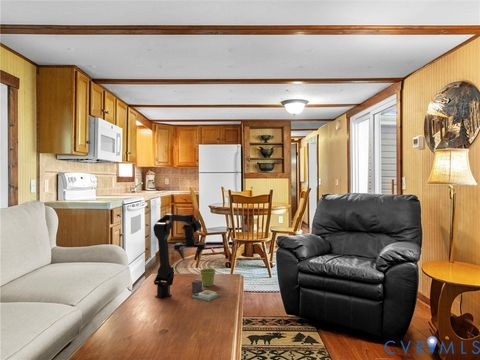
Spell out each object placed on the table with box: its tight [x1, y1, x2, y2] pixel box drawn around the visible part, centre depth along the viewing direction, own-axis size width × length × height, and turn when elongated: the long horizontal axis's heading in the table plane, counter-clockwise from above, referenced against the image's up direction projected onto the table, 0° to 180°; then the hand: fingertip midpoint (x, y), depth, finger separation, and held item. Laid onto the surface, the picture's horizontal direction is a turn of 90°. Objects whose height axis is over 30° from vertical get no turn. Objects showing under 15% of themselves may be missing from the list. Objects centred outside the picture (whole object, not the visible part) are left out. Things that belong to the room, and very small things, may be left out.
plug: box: [191, 278, 203, 294], centre depth 195 cm, size 4×4×6 cm
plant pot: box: [199, 268, 217, 287], centre depth 207 cm, size 9×9×9 cm
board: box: [191, 289, 220, 302], centre depth 187 cm, size 10×11×2 cm
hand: (191, 259), depth 212 cm, fingers open, 9 cm apart
